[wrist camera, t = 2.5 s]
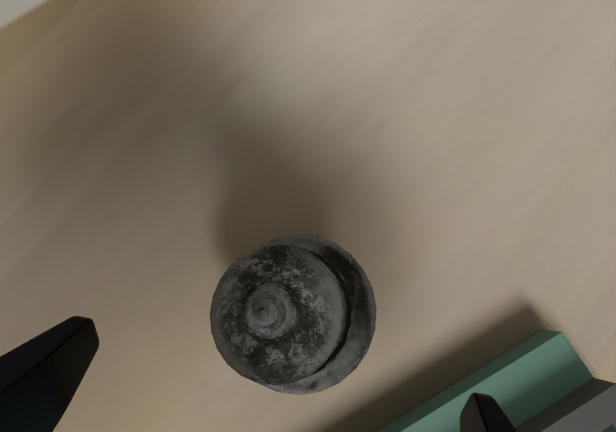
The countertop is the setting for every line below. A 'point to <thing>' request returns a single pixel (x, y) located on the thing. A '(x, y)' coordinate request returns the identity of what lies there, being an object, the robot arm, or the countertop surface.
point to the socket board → (525, 392)
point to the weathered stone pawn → (294, 314)
